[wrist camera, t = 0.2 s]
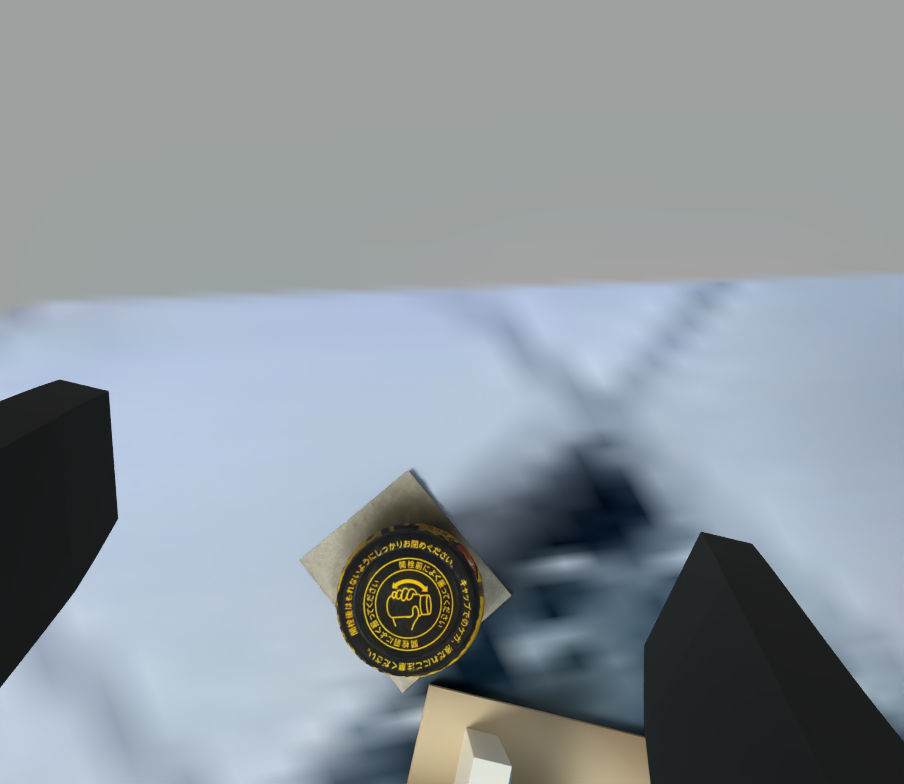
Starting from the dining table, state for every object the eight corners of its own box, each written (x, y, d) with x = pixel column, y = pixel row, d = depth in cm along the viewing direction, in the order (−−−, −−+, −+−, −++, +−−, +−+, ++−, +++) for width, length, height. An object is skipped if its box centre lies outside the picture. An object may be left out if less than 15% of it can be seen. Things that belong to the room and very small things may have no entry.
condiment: (402, 692, 37) (392, 746, 25) (299, 560, 38) (245, 554, 27) (511, 595, 38) (549, 604, 27) (408, 470, 40) (401, 427, 28)
